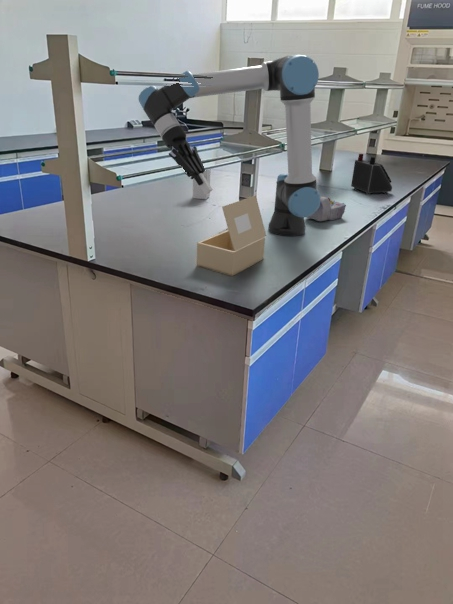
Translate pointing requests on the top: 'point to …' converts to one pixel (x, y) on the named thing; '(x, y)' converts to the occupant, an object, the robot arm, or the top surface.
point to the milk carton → (197, 190)
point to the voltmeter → (370, 176)
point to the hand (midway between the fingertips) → (208, 192)
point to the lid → (244, 222)
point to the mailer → (228, 254)
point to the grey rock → (328, 210)
